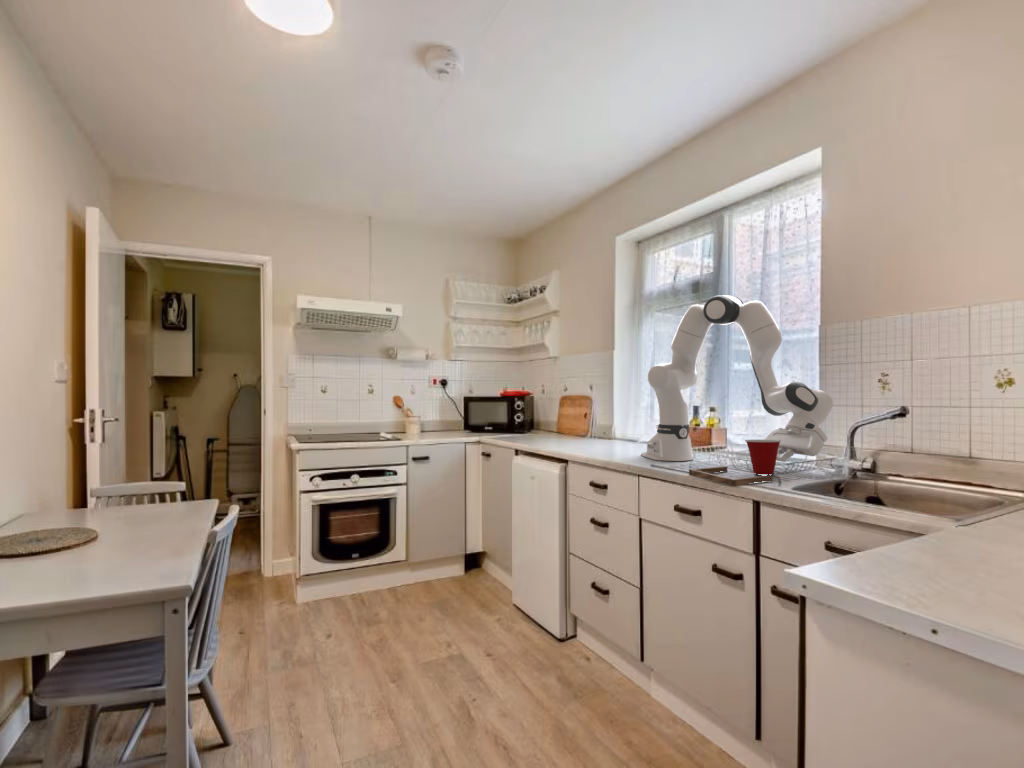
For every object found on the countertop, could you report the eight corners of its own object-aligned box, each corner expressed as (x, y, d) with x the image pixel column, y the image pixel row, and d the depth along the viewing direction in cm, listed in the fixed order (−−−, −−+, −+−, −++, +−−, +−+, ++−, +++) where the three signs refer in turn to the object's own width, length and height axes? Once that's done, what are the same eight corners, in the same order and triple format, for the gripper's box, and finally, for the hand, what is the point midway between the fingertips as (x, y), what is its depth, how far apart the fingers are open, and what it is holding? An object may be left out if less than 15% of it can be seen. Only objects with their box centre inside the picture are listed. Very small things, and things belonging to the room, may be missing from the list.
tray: (689, 474, 170) (689, 469, 170) (724, 471, 175) (724, 466, 175) (733, 486, 151) (733, 480, 151) (772, 481, 156) (771, 475, 156)
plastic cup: (773, 471, 173) (772, 436, 173) (787, 477, 162) (786, 440, 162) (740, 471, 174) (740, 437, 174) (752, 477, 163) (751, 440, 163)
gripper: (770, 421, 183) (750, 450, 180) (822, 426, 164) (800, 458, 160) (780, 433, 184) (760, 461, 181) (832, 439, 165) (811, 470, 162)
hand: (779, 460), depth 171 cm, fingers closed
